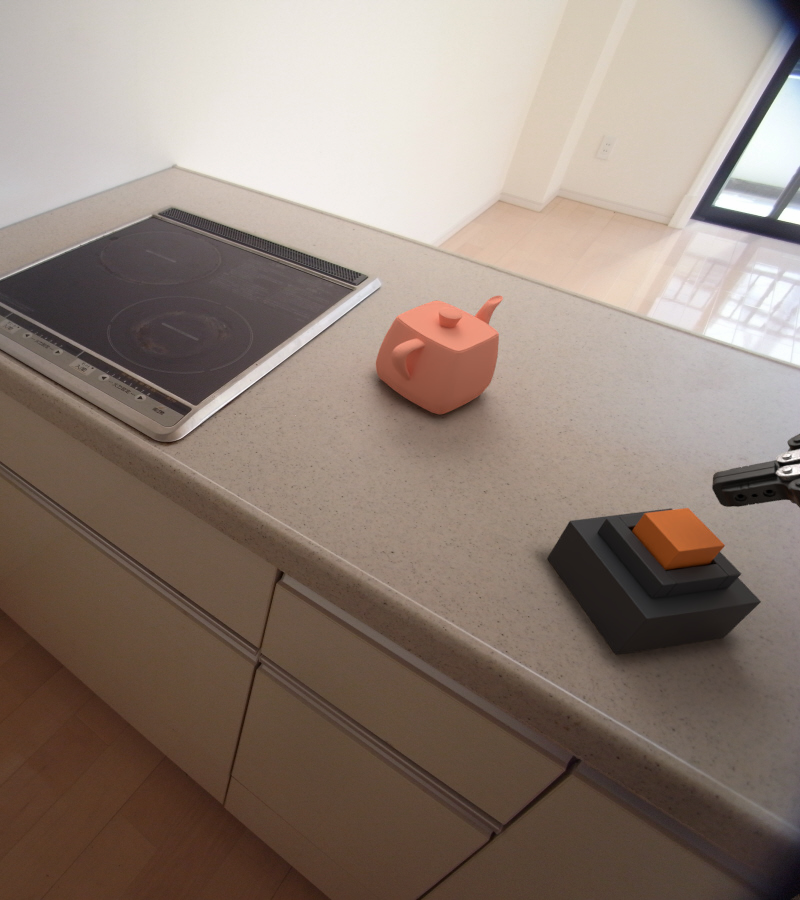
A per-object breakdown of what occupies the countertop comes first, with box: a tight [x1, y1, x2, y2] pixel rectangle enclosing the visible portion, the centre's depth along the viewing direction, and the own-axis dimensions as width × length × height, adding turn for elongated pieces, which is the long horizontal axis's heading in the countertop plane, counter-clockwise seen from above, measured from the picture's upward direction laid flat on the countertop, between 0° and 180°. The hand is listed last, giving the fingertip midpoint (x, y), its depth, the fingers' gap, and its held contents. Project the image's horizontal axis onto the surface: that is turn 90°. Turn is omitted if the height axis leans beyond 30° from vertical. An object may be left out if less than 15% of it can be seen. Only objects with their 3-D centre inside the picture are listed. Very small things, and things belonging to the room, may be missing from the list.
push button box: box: [547, 507, 762, 656], centre depth 54 cm, size 10×10×7 cm
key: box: [632, 507, 726, 570], centre depth 51 cm, size 4×4×2 cm
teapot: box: [375, 295, 504, 415], centre depth 76 cm, size 12×18×10 cm, turn 125°
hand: (716, 490), depth 47 cm, fingers closed
